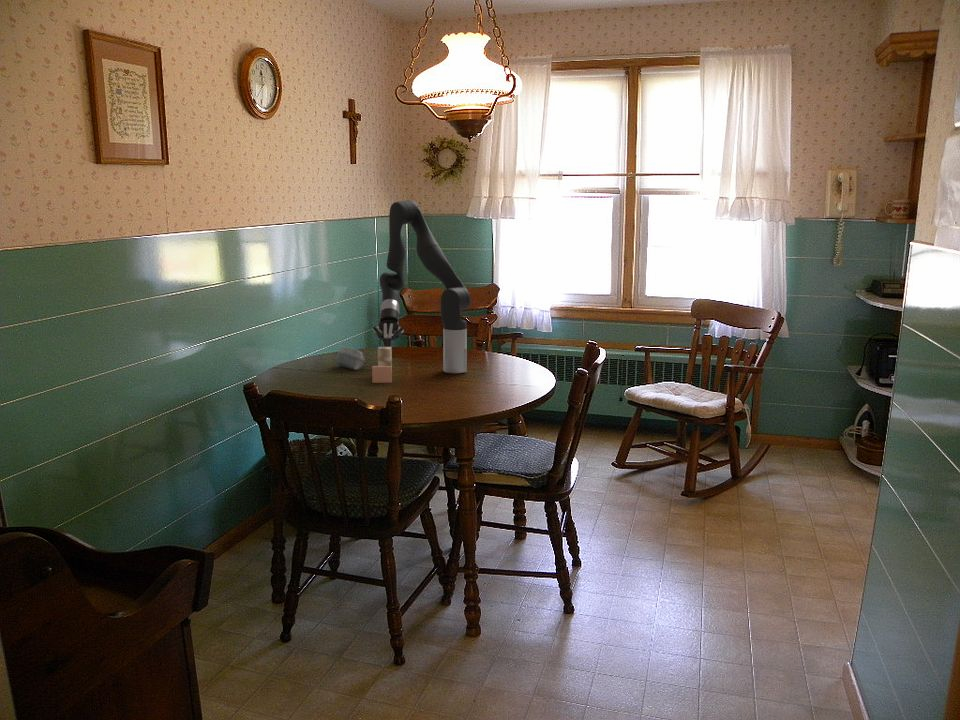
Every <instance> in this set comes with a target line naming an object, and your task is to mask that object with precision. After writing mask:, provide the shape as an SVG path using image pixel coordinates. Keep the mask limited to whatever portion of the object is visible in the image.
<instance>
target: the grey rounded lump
mask: <svg viewBox="0 0 960 720" xmlns="http://www.w3.org/2000/svg"><path fill="white" fill-rule="evenodd" d="M335 358H336V359H335V360H336V363H337V365H338V366H339V367H341V368H348V369H350V370H353V371H359V370H360V369H362V367H363V366H364V364H365V355H364V353H363V352H362V351H360V350H358V349H355V348H352V347H351V348H350V347H341V348H340V349H339V350H338V352H337V354H336V356H335Z"/></svg>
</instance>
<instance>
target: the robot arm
mask: <svg viewBox="0 0 960 720" xmlns="http://www.w3.org/2000/svg"><path fill="white" fill-rule="evenodd" d="M388 213H389V216H388V217H389V219H388V220H389V222H388V225H389V228H388V229H389V236H388V237H389V241H388V243H389V244H388V252H387V257H386V258H387V259H386V268H387V269H388V270H390V271H391V272H387V271H385V272H383V273H381V274H380V277H379V284H380V285H379V287H380V290H381V293H382V298H381V299H382V301H381V306H380V317H379V323H378V325H377V326H373V327H372V330H373V334H375V335H376V336H377V338H378V339H379V340H380V341H383V347H391V348H392V342H393V341H396V340H397V339H399V337H401V336H402V335H403V333H405V327H403V326H400V323H399V322H400V321H399V319H400V293H399V292H400V291H402V290H403V289H404V287H405V275H404V265H405V260H406V259H405V258H406V247H405V244H404V242H403V239H402V235H401V234H402V228H403V225H409V224H410V225H411V227H412V229H413V231H414V232H415V235H416V253H417V256H418V258H419V260H420V261H421V263H422V265H423V267H424V268H425V269H426V270H427V271H428V272H429V273H430V274H431V275H433V276H434V277H435V279H436V278H437V280H438V281H440V282H441V284H442V285H443V286H444V288H445V290H443V291H442V293H441V295H440V318H441V319H440V320H441V322H442V325H443V327H442V328H443V330H442V331H443V333H442V334H443V335H442V336H443V337H442V338H443V342H442V343H443V344H442V345H443V348H442V349H443V352H442V353H443V355H442V356H443V357H442V358H443V360H442V361H443V363H442V364H443V367H442V368H443V372H444V373H446V374H447V373H448V374H462V373H467V371H468V369H467V368H468V365H467V364H468V363H467V361H468V359H467V358H468V357H467V356H468V353H467V351H468V350H467V349H468V348H467V347H468V346H467V345H468V344H467V343H468V342H467V338H468V336H467V335H468V333H467V331H468V323H467V321H466V320H465V319H463V318H462V317H461V311H465V310H467V309H469V307H471V303H472V298H471V294H470V291H469V290H468V288H467V287H466V286H465V284H464V283H463V282H462V280H461V279H460V278H459V277H458V276H459V275H457V274H456V272H455V270H454V269H453V266H452V265H451V263H450V262H449V261H448V259H447V257H446V255H445V254H444V252H443V250H442V248H441V247H440V245H439V243H438V242H437V239H436V238H435V237H434V235H433V233H432V232H431V229H430V228H429V226H428V224H427V222H426V220H425V218H424V215H423V212H422V210H421V209H420V207H419V205H418V204H417V203H416V201H414V200H413V199H406V200H399V201H396V202H393V203H392V204H391V205H390V209H389V212H388ZM393 272H394V273H393ZM381 332H382V333H381Z"/></svg>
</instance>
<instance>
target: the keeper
mask: <svg viewBox="0 0 960 720" xmlns="http://www.w3.org/2000/svg"><path fill="white" fill-rule="evenodd" d="M392 360H393V359H392V346H391V347H384V346H378V349H377V363H378V364H377V366H392V367H393V363H392V362H393V361H392Z"/></svg>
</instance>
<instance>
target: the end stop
mask: <svg viewBox="0 0 960 720" xmlns="http://www.w3.org/2000/svg"><path fill="white" fill-rule="evenodd" d="M371 368H372V369H371V370H372V371H371V375H372V377H371V379H372V381H371V382H372V383H375V384H376V383H378V384H379V383H380V384H381V383H383V384H389V383H390V384H392V383H393V379H392V377H393V374H392V373H393V369H392V368H393V365H392V366H378V365H373V366H372V367H371Z"/></svg>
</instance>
